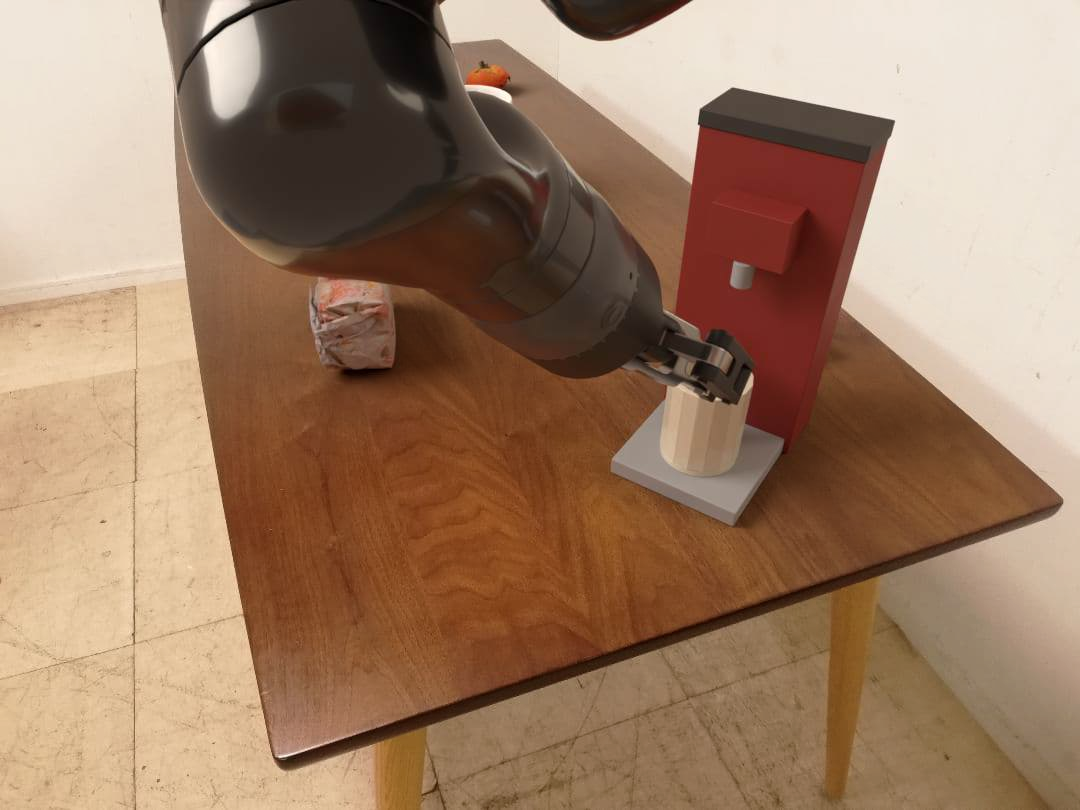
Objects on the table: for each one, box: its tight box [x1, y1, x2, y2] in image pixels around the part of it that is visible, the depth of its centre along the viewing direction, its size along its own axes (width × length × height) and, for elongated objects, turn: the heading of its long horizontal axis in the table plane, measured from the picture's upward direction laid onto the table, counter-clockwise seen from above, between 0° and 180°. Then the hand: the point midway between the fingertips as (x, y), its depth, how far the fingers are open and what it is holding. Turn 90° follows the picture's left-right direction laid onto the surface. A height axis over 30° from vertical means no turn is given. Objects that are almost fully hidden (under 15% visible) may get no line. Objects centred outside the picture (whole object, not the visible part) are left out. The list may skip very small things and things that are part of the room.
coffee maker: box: [610, 86, 896, 527], centre depth 63 cm, size 16×12×27 cm
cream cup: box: [660, 362, 754, 477], centre depth 66 cm, size 6×6×8 cm
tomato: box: [464, 59, 512, 90], centre depth 141 cm, size 8×7×7 cm
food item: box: [308, 277, 397, 371], centre depth 80 cm, size 14×8×10 cm, turn 13°
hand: (651, 361), depth 51 cm, fingers open, 8 cm apart
